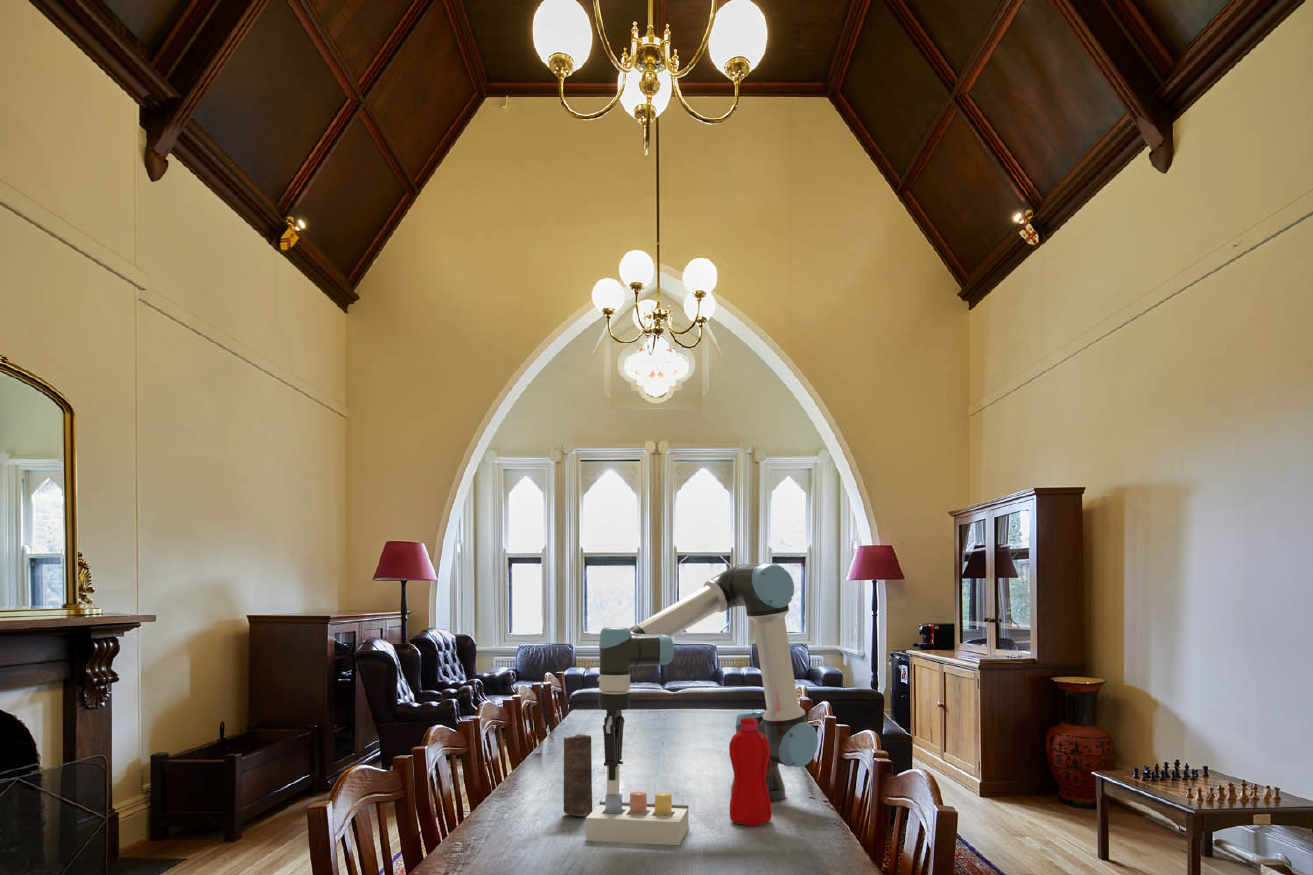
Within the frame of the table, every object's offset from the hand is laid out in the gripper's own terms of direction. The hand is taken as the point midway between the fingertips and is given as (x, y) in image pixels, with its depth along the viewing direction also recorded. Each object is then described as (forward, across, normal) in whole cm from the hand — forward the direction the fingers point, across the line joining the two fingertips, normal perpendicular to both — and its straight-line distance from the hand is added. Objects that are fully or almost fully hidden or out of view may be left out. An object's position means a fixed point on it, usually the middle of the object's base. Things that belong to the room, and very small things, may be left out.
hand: (612, 793), depth 219 cm
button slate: (+4, 0, 0) cm, 4 cm away
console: (+9, 0, +6) cm, 11 cm away
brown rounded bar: (+9, -15, -13) cm, 22 cm away
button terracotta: (+4, 0, +6) cm, 7 cm away
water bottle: (+9, -16, +32) cm, 37 cm away
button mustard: (+4, 0, +12) cm, 13 cm away
